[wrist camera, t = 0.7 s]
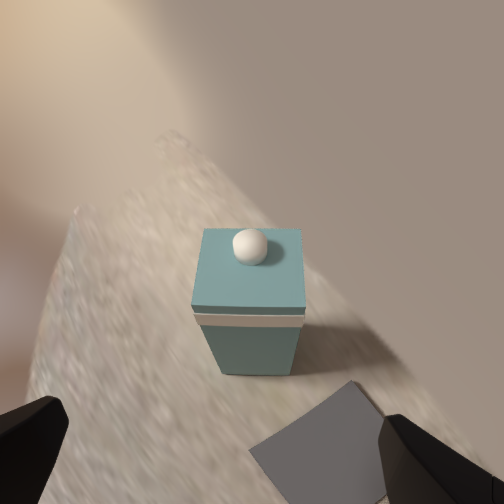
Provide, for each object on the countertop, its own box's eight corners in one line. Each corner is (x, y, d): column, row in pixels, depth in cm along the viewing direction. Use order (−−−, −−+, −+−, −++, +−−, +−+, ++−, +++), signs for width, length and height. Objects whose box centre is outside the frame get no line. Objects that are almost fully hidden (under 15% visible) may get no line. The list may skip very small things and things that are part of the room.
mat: (418, 462, 16) (420, 462, 16) (320, 539, 14) (321, 541, 13) (350, 381, 21) (351, 379, 21) (248, 450, 18) (248, 449, 18)
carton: (289, 376, 22) (309, 298, 13) (221, 374, 22) (185, 296, 13) (289, 321, 25) (302, 217, 15) (226, 320, 25) (201, 217, 16)
